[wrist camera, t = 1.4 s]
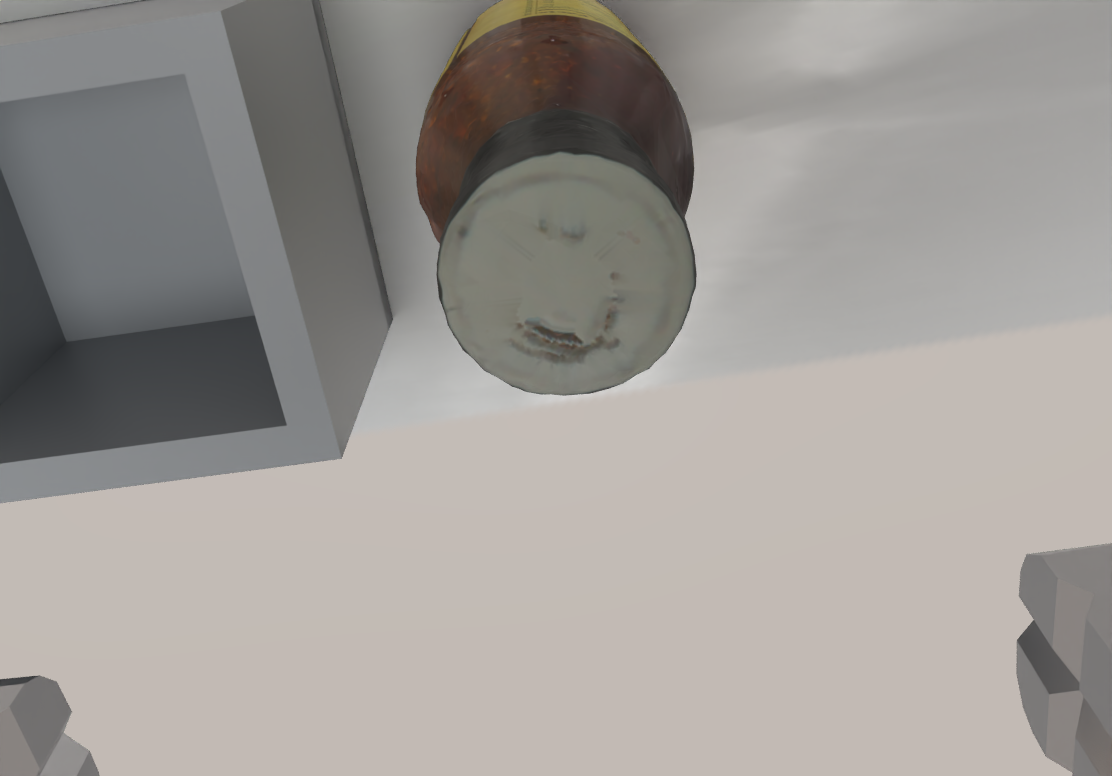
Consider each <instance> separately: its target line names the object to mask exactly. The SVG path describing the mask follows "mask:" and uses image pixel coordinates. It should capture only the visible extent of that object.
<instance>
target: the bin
mask: <svg viewBox="0 0 1112 776" xmlns="http://www.w3.org/2000/svg"><path fill="white" fill-rule="evenodd" d="M392 320H393V318H392V314H391V309H390V305H389V301H388V296H387V292H386V288H385V284H384V279H383V275H382V271H381V266H380V262H379V258H378V253H377V249H376V245H375V240H374V236H373V232H372V227H371V223H370V219H369V214H368V210H367V206H366V201H365V197H364V193H363V188H362V184H361V180H360V176H359V171H358V167H357V163H356V158H355V154H354V150H353V145H352V141H351V137H350V132H349V128H348V124H347V119H346V115H345V111H344V106H343V102H342V98H341V93H340V89H339V85H338V81H337V76H336V72H335V68H334V63H333V59H332V55H331V50H330V46H329V42H328V37H327V33H326V29H325V24H324V20H323V16H322V11H321V7H320V3H319V0H142V1H136V2H129V3H123V4H117V5H111V6H105V7H98V8H92V9H86V10H80V11H73V12H67V13H61V14H55V15H49V16H42V17H36V18H30V19H24V20H18V21H11V22H5V23H0V503H6V502H14V501H21V500H29V499H37V498H43V497H52V496H59V495H67V494H75V493H82V492H90V491H98V490H105V489H111V488H112V489H113V488H121V487H128V486H136V485H144V484H151V483H159V482H166V481H174V480H181V479H190V478H197V477H205V476H212V475H220V474H228V473H235V472H243V471H251V470H258V469H266V468H273V467H280V466H289V465H297V464H304V463H312V462H319V461H327V460H335V459H341V458H342V456H343V453H344V450H345V448H346V445H347V442H348V440H349V437H350V434H351V432H352V429H353V426H354V423H355V421H356V418H357V415H358V412H359V410H360V407H361V404H362V402H363V399H364V396H365V393H366V391H367V388H368V385H369V382H370V380H371V377H372V374H373V372H374V369H375V366H376V363H377V361H378V358H379V355H380V352H381V350H382V347H383V344H384V342H385V339H386V336H387V333H388V331H389V328H390V325H391V322H392Z"/></svg>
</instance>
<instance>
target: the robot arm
mask: <svg viewBox="0 0 1112 776" xmlns="http://www.w3.org/2000/svg"><path fill="white" fill-rule="evenodd" d="M1019 597H1020V598H1021V600H1022V602H1023V603H1024V605H1025V606H1026V608H1027V609H1028V611H1029V613H1030V614H1031V616H1032V617H1033V619H1034V620H1033V622H1032V623H1031V624H1030V625H1029V626H1028V628H1027V629H1026V630H1025V631H1024V632H1023V634H1022V635H1021V636H1020V637H1019V638H1018V640H1017V678H1018V684H1019V689H1020V694H1021V699H1022V704H1023V708H1024V711H1025V713H1026V716H1027V719H1028V722H1029V724H1030V727H1031V729H1032V732H1033V734H1034V736H1035V738H1036V739H1037V741H1038V743H1039V745H1040V747H1041V748H1042V750H1043V752H1044V754H1045V756H1046V757H1047V758H1049V759H1051V760H1052V761H1054V762H1056V763H1058V764H1059V765H1061V766H1062V767H1064V768H1066V769H1067V770H1069V771H1071V772H1072V773H1073V776H1112V543H1111V544H1102V545H1095V546H1087V547H1080V548H1072V549H1063V550H1056V551H1048V552H1040V553H1033V554H1027V555H1026V557H1025V560H1024V562H1023V565H1022V568H1021V572H1020V588H1019ZM71 712H72V711H71V709H70V707H69V705H68V703H67V701H66V699H65V697H64V695H63V693H62V691H61V689H60V687H59V685H58V683H57V682H56V681H53V680H51V679H48V678H45V677H42V676H30V677H21V678H10V679H0V776H99V772H98V769H97V767H96V765H95V763H94V760H93V758H92V756H91V753H90V751H89V750H88V749H86V748H85V747H83V746H82V745H80V744H79V743H77V742H76V741H74V740H73V739H71V738H70V737H69V736H67V735H66V734H64V730H65V727H66V724H67V722H68V720H69V717H70V715H71Z"/></svg>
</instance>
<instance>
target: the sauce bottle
mask: <svg viewBox="0 0 1112 776" xmlns="http://www.w3.org/2000/svg"><path fill="white" fill-rule="evenodd" d="M693 176H694V158H693V148H692V139H691V134H690V130H689V126H688V123H687V119H686V116H685V113H684V111H683V108H682V106H681V104H680V101H679V99H678V97H677V95H676V92H675V91H674V89H673V87H672V86H671V84H670V82H669V81H668V79H667V78H666V76H665V75H664V73H663V72H662V70H661V69H660V67H659V66H658V64H657V63H656V61H655V60H654V58H653V57H652V56H651V55H650V54H649V52H648V51H647V50H646V49H645V48H644V47H643V46H642V44H641V43H640V42H639V41H638V40H637V39H636V38H635V37H634V36H633V35H632V33H631V32H630V31H629V30H628V28H627V27H626V26H625V25H624V24H623V23H622V22H621V21H620V19H619V18H618V17H617V16H616V15H615V14H613V13H612V12H611V11H610V10H609V9H608V8H606V7H605V6H603V5H602V4H600V3H599V2H597V1H595V0H502V1H500V2H498V3H496V4H495V5H493V6H492V7H490V8H489V9H487V10H486V11H485V12H484V13H482V14H481V15H480V16H479V17H478V18H477V20H476V22H475V23H474V25H473V26H472V28H469V29H468V30H467V31H466V32H465V33H464V35H463V36H462V38H461V40H460V41H459V43H458V44H457V46H456V48H455V50H454V51H453V53H452V55H451V57H450V59H449V61H448V63H447V65H446V67H445V69H444V71H443V73H442V74H441V76H440V78H439V80H438V83H437V84H436V86H435V88H434V90H433V92H432V95H431V97H430V100H429V103H428V105H427V108H426V111H425V115H424V120H423V124H422V128H421V133H420V138H419V143H418V147H417V157H416V177H417V189H418V196H419V201H420V204H421V205H422V208H423V210H424V211H425V213H426V215H427V216H428V219H429V222H430V225H431V228H432V231H433V233H434V236H435V237H436V239H437V241H438V242H439V243H440V248H439V253H438V261H437V282H438V291H439V299H440V301H441V304H442V307H443V310H444V312H445V315H446V319H447V323H448V326H449V328H450V329H451V331H452V333H453V335H454V336H455V338H456V339H457V341H458V342H459V344H460V346H461V347H462V349H463V350H464V351H465V352H466V353H467V354H469V355H470V356H471V357H472V358H473V359H474V360H475V361H476V362H477V363H478V364H479V365H480V366H481V367H482V369H483V370H484V371H486V372H488V373H490V374H492V375H494V376H496V377H498V378H499V379H501V380H503V381H504V382H506V383H507V384H509V385H511V386H512V387H516V388H519V389H521V390H523V391H526V392H531V393H536V394H554V395H576V394H590V393H594V392H598V391H601V390H605V389H609V388H612V387H615V386H617V385H620V384H623V383H624V382H626V381H627V380H629V379H631V378H632V377H634V376H635V375H637V374H639V373H641V372H643V371H645V370H647V369H649V368H650V367H651V366H652V365H653V364H654V363H655V362H656V361H657V360H658V359H659V358H660V357H661V356H662V355H664V354H665V353H666V351H667V350H668V349H669V347H670V346H671V344H672V343H673V341H674V339H675V338H676V336H677V335H678V333H679V332H680V330H681V329H682V326H683V323H684V321H685V318H686V316H687V313H688V311H689V308H690V304H691V299H692V296H693V293H694V290H695V287H696V265H695V255H694V250H693V246H692V242H691V238H690V234H689V231H688V228H687V224H686V220H685V218H684V217H685V214H686V211H687V208H688V205H689V201H690V197H691V193H692V187H693Z"/></svg>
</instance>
